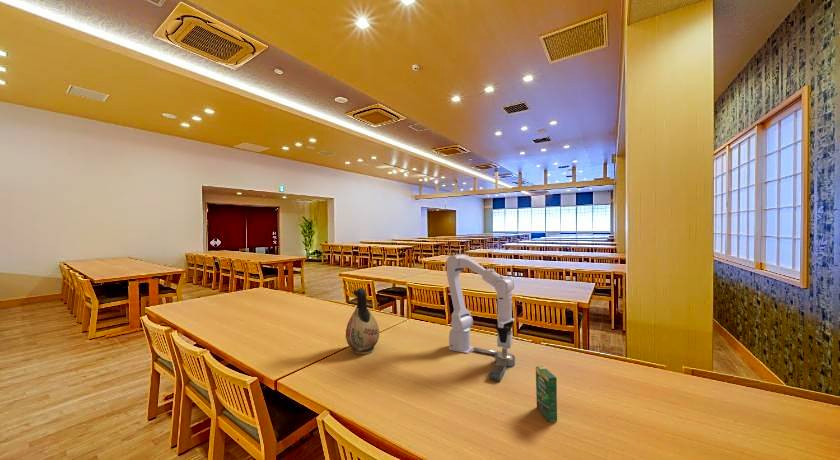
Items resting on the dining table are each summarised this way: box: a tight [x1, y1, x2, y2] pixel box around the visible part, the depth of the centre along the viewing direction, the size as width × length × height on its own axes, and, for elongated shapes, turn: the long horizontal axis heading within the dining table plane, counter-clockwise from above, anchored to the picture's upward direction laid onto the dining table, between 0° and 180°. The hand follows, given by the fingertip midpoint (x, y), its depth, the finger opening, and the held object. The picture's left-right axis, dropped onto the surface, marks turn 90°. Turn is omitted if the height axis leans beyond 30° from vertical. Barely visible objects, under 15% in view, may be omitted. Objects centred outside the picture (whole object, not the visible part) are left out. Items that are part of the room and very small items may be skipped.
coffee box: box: [535, 365, 558, 423], centre depth 94 cm, size 8×3×13 cm, turn 6°
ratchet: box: [489, 347, 516, 383], centre depth 123 cm, size 8×20×6 cm, turn 152°
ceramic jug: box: [345, 287, 380, 355], centre depth 142 cm, size 17×15×30 cm
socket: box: [496, 330, 514, 349], centre depth 128 cm, size 5×5×6 cm
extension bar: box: [472, 346, 502, 356], centre depth 138 cm, size 13×2×2 cm, turn 62°
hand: (504, 340), depth 128 cm, fingers closed on socket, 5 cm apart
